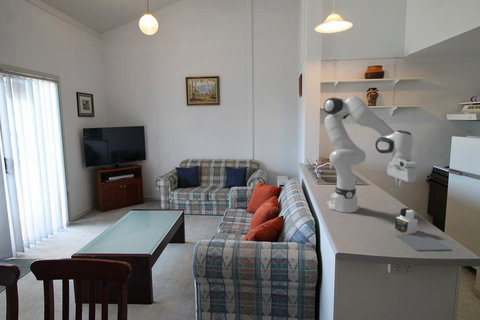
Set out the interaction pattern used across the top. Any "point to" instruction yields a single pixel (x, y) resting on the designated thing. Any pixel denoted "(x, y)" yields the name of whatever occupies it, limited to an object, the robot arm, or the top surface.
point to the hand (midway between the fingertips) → (399, 186)
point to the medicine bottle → (406, 222)
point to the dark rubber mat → (422, 242)
